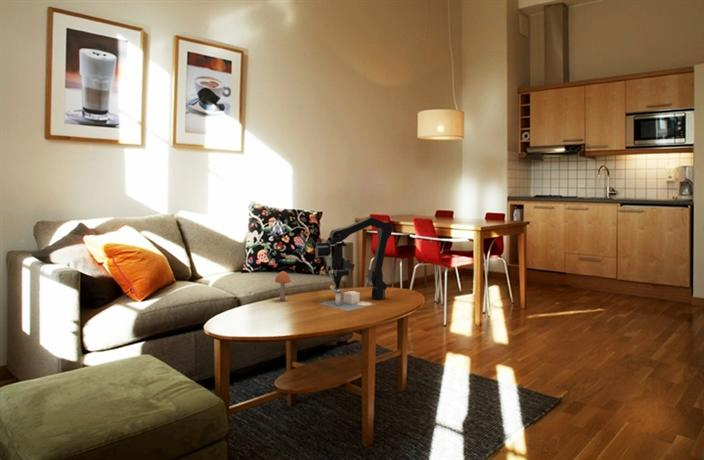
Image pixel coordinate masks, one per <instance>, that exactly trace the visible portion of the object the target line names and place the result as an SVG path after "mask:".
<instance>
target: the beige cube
mask: <svg viewBox="0 0 704 460" xmlns="http://www.w3.org/2000/svg"><path fill="white" fill-rule="evenodd" d="M360 294H361V293H360V292H359V291H355V290H348V291H345V292H343V298H344V302H345V303H349V304H354V303H358V302H360V301H361V300H360Z"/></svg>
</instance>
